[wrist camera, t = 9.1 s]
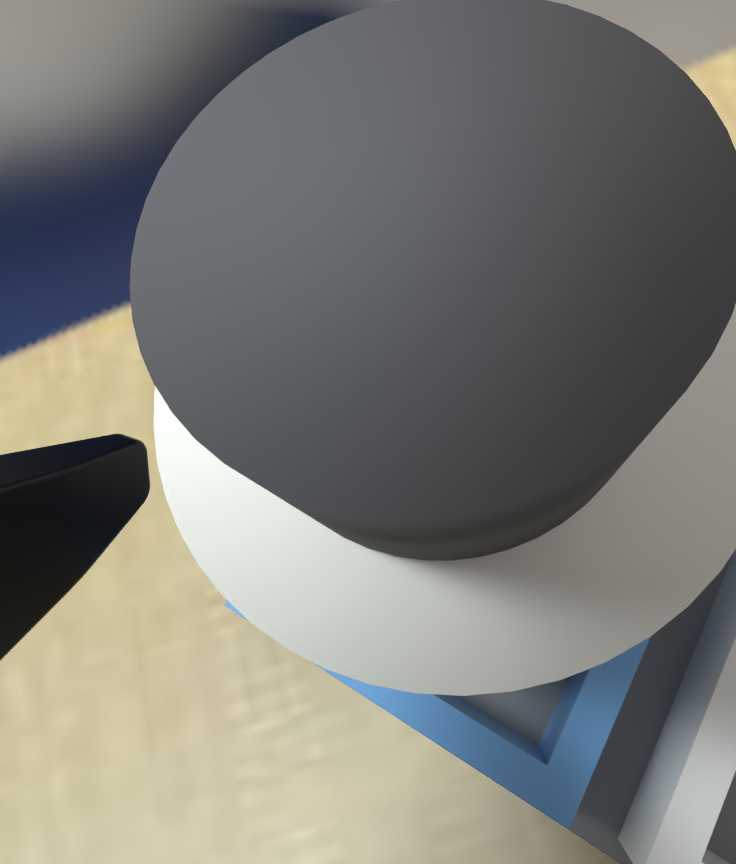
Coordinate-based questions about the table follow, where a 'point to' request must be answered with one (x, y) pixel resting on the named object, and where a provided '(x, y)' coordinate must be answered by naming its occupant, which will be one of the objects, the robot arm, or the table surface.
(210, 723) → the table surface
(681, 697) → the blue and white tray
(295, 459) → the white bottle
